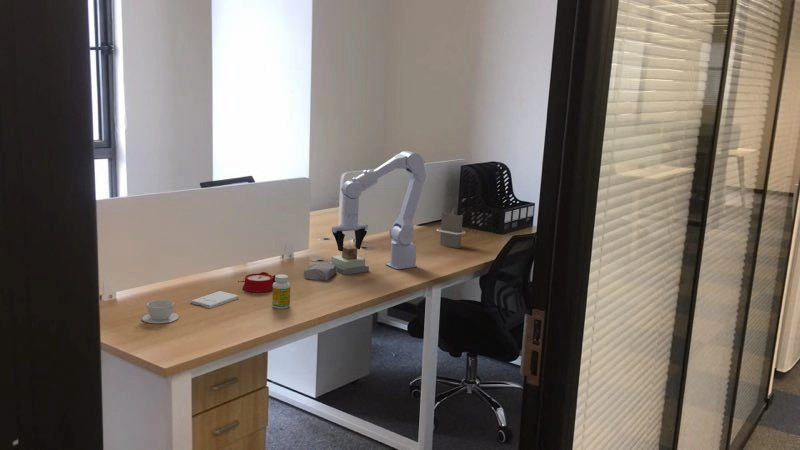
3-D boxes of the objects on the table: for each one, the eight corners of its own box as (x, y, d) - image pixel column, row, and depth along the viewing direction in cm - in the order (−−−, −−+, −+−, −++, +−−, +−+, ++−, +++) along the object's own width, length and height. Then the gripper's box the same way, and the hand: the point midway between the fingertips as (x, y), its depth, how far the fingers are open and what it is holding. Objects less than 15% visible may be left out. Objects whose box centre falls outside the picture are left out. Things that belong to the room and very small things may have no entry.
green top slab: (351, 260, 277) (351, 253, 277) (365, 265, 270) (365, 259, 270) (331, 262, 272) (331, 256, 271) (345, 268, 265) (345, 262, 264)
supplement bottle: (279, 310, 221) (280, 279, 219) (268, 305, 225) (269, 275, 223) (293, 306, 225) (294, 276, 223) (282, 302, 229) (283, 272, 227)
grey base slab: (352, 265, 279) (353, 259, 279) (368, 272, 270) (368, 266, 270) (328, 269, 273) (328, 262, 272) (343, 276, 264) (343, 269, 263)
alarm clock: (233, 279, 239) (264, 261, 250) (236, 296, 241) (267, 277, 253) (257, 285, 233) (287, 266, 245) (259, 302, 236) (290, 283, 247)
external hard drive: (238, 300, 230) (210, 310, 220) (219, 295, 234) (190, 304, 224) (238, 295, 230) (210, 304, 219) (219, 290, 234) (190, 299, 223)
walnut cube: (351, 256, 273) (351, 245, 272) (356, 258, 270) (357, 248, 269) (341, 257, 271) (342, 246, 270) (347, 259, 268) (348, 249, 267)
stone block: (302, 283, 257) (329, 280, 255) (300, 270, 256) (327, 267, 254) (312, 276, 268) (338, 273, 266) (310, 263, 268) (336, 260, 266)
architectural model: (436, 238, 332) (438, 207, 329) (486, 247, 319) (488, 214, 316) (414, 245, 316) (416, 212, 313) (465, 255, 303) (468, 221, 300)
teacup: (183, 322, 207) (182, 306, 206) (147, 327, 202) (146, 310, 201) (173, 311, 216) (172, 296, 215) (138, 316, 210) (138, 300, 209)
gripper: (339, 217, 260) (337, 254, 263) (372, 214, 268) (371, 250, 271) (329, 213, 265) (328, 249, 268) (362, 211, 274) (361, 246, 277)
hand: (349, 249), depth 270 cm, fingers open, 7 cm apart
